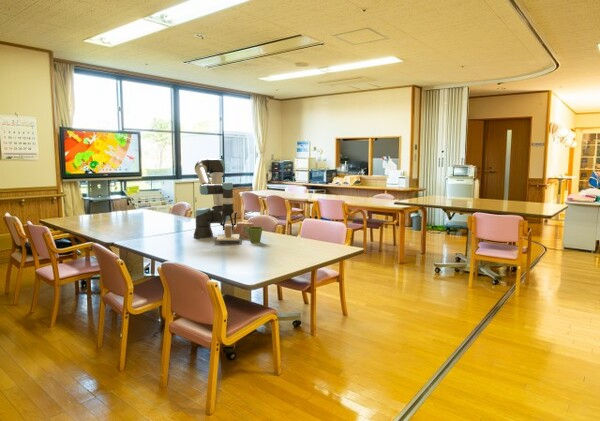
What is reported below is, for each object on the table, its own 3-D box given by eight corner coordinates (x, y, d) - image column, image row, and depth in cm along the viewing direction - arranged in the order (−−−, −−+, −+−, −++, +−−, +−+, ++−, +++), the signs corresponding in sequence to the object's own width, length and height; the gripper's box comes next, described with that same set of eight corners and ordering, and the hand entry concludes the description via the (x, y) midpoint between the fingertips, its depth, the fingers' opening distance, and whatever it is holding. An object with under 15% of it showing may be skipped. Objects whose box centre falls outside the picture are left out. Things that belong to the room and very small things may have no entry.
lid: (218, 235, 312) (217, 224, 311) (239, 235, 314) (239, 223, 313) (216, 240, 296) (216, 228, 295) (239, 239, 299) (238, 227, 297)
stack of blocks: (225, 238, 325) (225, 222, 324) (228, 236, 332) (228, 221, 330) (251, 239, 322) (251, 223, 320) (253, 237, 328) (253, 222, 326)
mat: (215, 240, 314) (215, 239, 314) (242, 240, 317) (242, 239, 317) (214, 246, 294) (213, 245, 294) (242, 245, 297) (242, 244, 297)
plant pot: (248, 244, 301) (248, 229, 300) (247, 241, 313) (246, 226, 311) (264, 243, 303) (264, 228, 302) (262, 240, 315) (262, 226, 314)
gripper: (215, 204, 297) (216, 235, 300) (239, 204, 299) (239, 235, 302) (216, 202, 304) (217, 233, 308) (239, 202, 306) (239, 233, 310)
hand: (228, 234), depth 305 cm, fingers closed on lid, 4 cm apart
